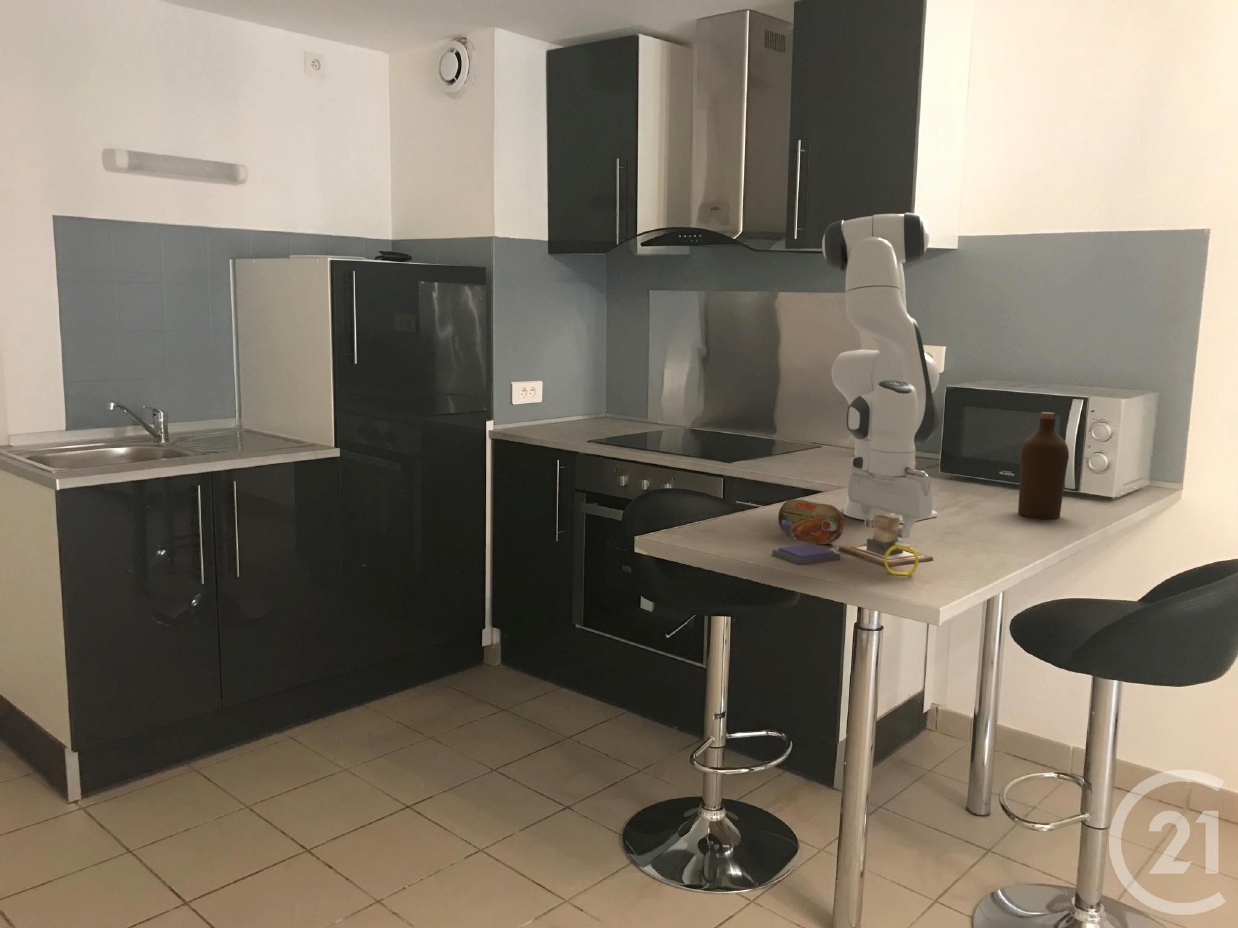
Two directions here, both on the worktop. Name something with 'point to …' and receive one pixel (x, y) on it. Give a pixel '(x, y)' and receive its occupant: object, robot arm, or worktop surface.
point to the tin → (810, 521)
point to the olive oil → (1043, 471)
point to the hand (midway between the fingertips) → (886, 532)
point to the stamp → (884, 535)
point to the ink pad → (805, 554)
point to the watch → (901, 546)
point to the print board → (878, 558)
